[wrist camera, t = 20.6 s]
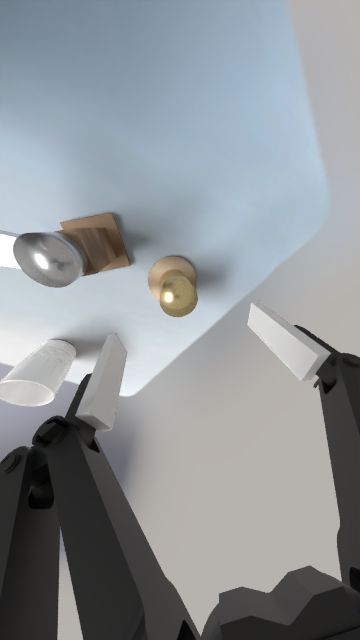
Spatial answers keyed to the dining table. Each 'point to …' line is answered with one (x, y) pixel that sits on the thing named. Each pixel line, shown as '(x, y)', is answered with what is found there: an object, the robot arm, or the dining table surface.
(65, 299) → the dining table surface
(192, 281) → the coaster
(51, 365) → the white cup
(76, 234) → the post
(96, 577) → the robot arm
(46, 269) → the lever
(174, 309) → the brass cylinder
